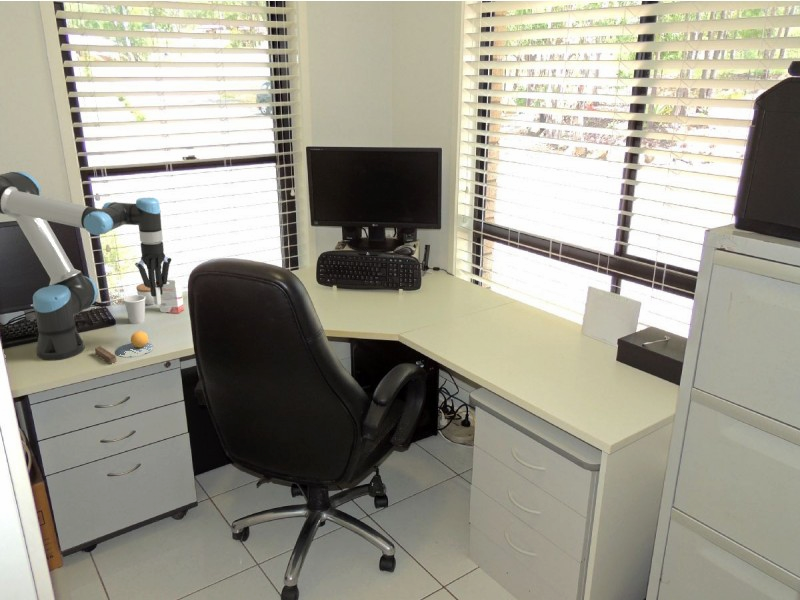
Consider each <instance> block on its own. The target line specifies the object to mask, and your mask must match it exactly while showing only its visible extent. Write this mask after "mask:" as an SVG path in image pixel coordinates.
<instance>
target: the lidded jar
mask: <svg viewBox="0 0 800 600" xmlns="http://www.w3.org/2000/svg"><path fill="white" fill-rule="evenodd" d="M155 284H156V281H155ZM156 286H157V285H156ZM136 292H137V295H143V296H145V297H146V299H145V306H151V305H155V304H154V298H153V296H151V290H150V288H148V287H146V286H145V285H144V282H143V283H141V284H138V285H136Z"/></svg>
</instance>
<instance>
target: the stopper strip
mask: <svg viewBox="0 0 800 600" xmlns="http://www.w3.org/2000/svg"><path fill="white" fill-rule="evenodd" d="M94 351H95V356H97V355H98V356H97V357H99V358H100V357H101V359H102V360H103V359H104V361H105V362H106V361H107V363H108V362H109V363H110V365H113V364H112V363H114V364H116V363H115V362H117V355H116V354H115V355H114V353H112V352H110V351H109V350H107V349H105V348H103V347H102V346H98V347H94ZM109 363H108V364H109Z"/></svg>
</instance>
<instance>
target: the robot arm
mask: <svg viewBox="0 0 800 600" xmlns="http://www.w3.org/2000/svg"><path fill="white" fill-rule="evenodd" d="M161 211H162V210H161V208H160V202H159V200H158V199H157V198H154V197H140V198H138V199H136V201H135V203H128V202H117V201H113V202H105V203H103V206H102V207H101V208H97V207H92V206H88V205H83V204H80V203H74V202H69V201H65V200H60V199H55V198H51V197H46V196H41V187H40V184H39V182H38V180H36V178H35V177H33V175H31V174H29V173H27V172H23V171H10V172H6V173H1V174H0V214H1V215H6V216H7V217H11V218H13V219H15V221H16V222H17V225H18V226H19V227H20V229H21V231H22V232H23V234H24V236H25V237H26V239H27V240H28V242H29V244H30V246H31V247H32V249H33V251H34V253H35V255H36V256H37V257H38V260H39V262H40V263H41V265H42V266H43V268H44V270H45V272H46V273H47V275H48V276H49V279H50V281H49V285H48V286H44V287H41V288H39V289H37V291H35V292H34V293H33V296H32V306H33V307H32V308H33V310H34V316H35V320H36V325H37V330H38V337H37V338H38V339H37V344H36V349H35V351H36V356H37V357H38V358H39V359H41V360H45V361H46V360H47V361H57V360H58V361H59V360H64V359H69V358H72V357H75V356H77V355H79V354H81V353H82V352H84V350H85V344H84V340H83V339H82V336H81V335H80V333H79V332H78V330H77V328H76V321H75V316H77V315H78V314H80V313H81V312H83V311H84V310H87V309H89V308H90V307H91V306H92V305H94V303H95V302H96V301H97V299H98V295H99V291H98V287H97V284H96V283H95V281H94V280H93V279H91V278H89V277H88V276H85V275H84V274H83V272H82V271H81V270H78V269H76V268H74V265H73V264H72V263H71V260H70V259H69V257H68V256H67V254H66V252H65V250H64V248H63V246H62V245H61V243H60V242H59V240H58V238H57V236H56V234H55V233H54V230H53V229H52V227H51V226H50V223H49V222H52V223H57V224H63V225H66V226H71V227H76V228H81V229H85V230H86V231H87V232H88V233H90V234H91V235H94V236H100V235H105V234H107V233H109V232H111V231H112V230H115V229H117V228H119V227H121V226H124V225H128V226H130V225H131V226H138V230H139V232H138V233H139V239H140V240H139V241H140V242H141V243H140V251H141V258H140V261H139V262H135V264H134V265H135V267H136V268H137V269H138V271H139V273H140V277H141V279H142V282H143V283H144V285H145V286H146V287H148V288H150V290H151V296H153V298H154V304H153V305H156V306H160V304H161V295H162V287H163V285H164V284H167V283H168V282H167V280H168V276H169V269H170V264H171V262H172V258H171V257H169V256H166V254H165V253H164V250H165V249H164V242H163V240H164V239H163V229H162V219H161V217H162V216H161ZM145 266H146V269H147V271H146V269H145ZM147 273H148V274H147ZM155 282H156V284H155ZM156 285H157V286H156Z"/></svg>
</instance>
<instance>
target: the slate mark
mask: <svg viewBox="0 0 800 600" xmlns="http://www.w3.org/2000/svg"><path fill="white" fill-rule="evenodd" d="M148 345H149V346H148ZM150 345H153V344H152V343H150V342H148V343H147V344H146V345H145V346H144V347H145V348H144V347H141V348H138V347H135V346H133V345H132V343H131V342H129V343H126V344H123V345H121V346H119V347H117V348H116V349H115V355H116V354H117V355H116V356H118V355H120V354H121V355H125V353H126V352H125V351H132V350H130V349H133V350H136V351H139V352H141V351H142V350H140V349H146V347H147V349H146V350H148V349H149V348H151V347H153V346H154V345H153V346H150ZM150 350H151V349H149V350H148V351H150ZM124 352H125V353H124ZM132 352H134V351H132ZM134 353H136V352H134ZM137 354H138V353H137Z"/></svg>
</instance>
